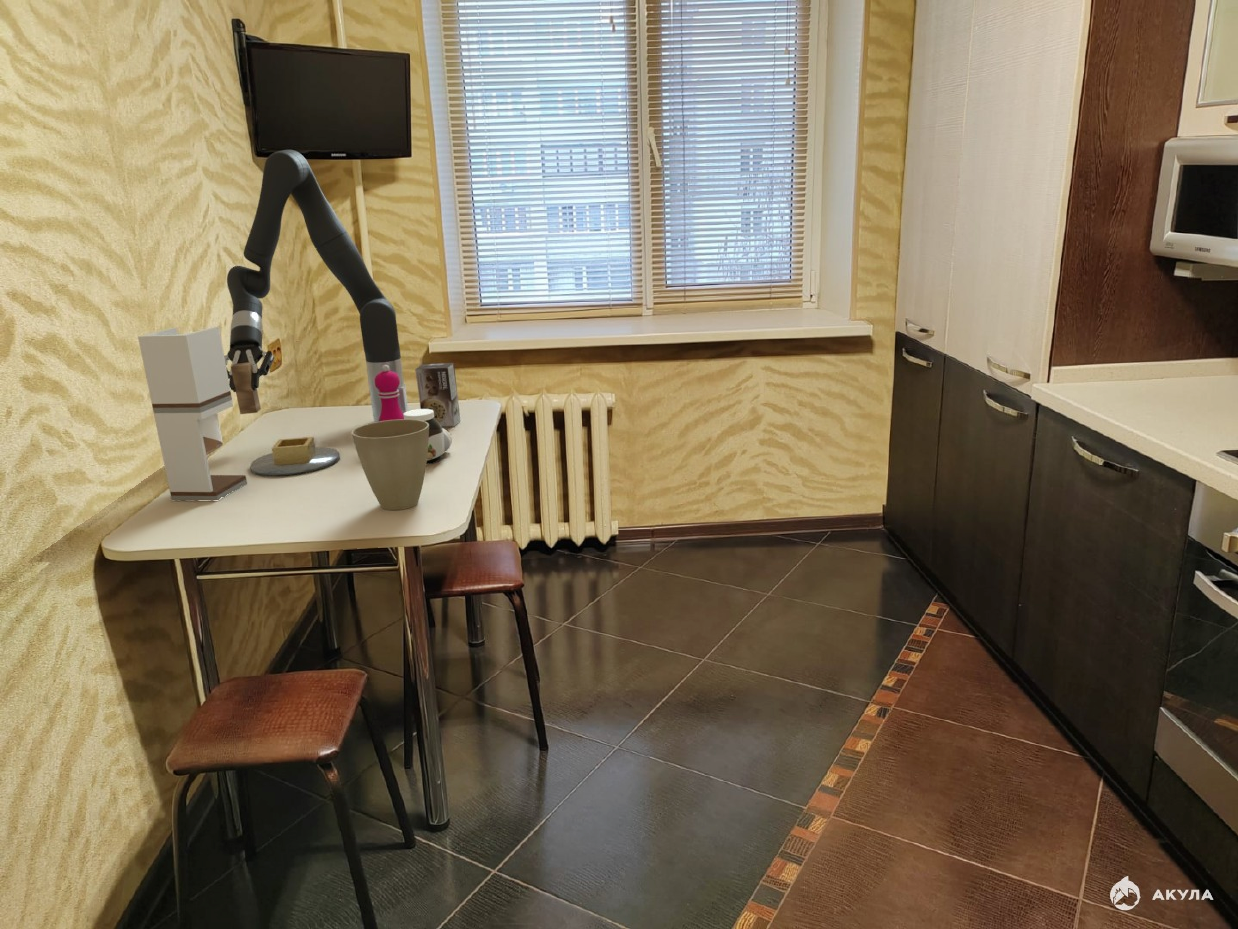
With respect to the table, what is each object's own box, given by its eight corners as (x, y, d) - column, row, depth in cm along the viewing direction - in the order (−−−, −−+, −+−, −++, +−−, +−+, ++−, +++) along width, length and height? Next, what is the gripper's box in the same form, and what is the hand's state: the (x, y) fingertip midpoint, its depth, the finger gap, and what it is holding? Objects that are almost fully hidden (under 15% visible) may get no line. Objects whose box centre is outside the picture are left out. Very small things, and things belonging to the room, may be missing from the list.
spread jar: (402, 467, 207) (396, 418, 204) (402, 454, 218) (396, 407, 215) (455, 461, 210) (450, 413, 206) (452, 449, 220) (447, 402, 217)
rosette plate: (345, 448, 225) (342, 428, 224) (333, 472, 207) (330, 450, 205) (262, 455, 223) (258, 435, 221) (242, 480, 204) (238, 458, 202)
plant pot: (448, 505, 181) (440, 428, 176) (375, 522, 173) (364, 442, 169) (422, 487, 193) (413, 414, 188) (352, 502, 186) (342, 427, 181)
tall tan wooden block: (260, 408, 229) (251, 361, 225) (257, 412, 225) (247, 365, 221) (244, 410, 228) (234, 363, 225) (240, 414, 224) (230, 366, 221)
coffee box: (461, 420, 247) (455, 362, 242) (454, 426, 241) (448, 367, 236) (428, 421, 248) (422, 363, 243) (421, 427, 242) (414, 368, 237)
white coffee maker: (217, 501, 190) (185, 335, 180) (171, 500, 192) (137, 336, 182) (247, 483, 201) (218, 326, 191) (203, 483, 203) (173, 327, 193)
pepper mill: (374, 446, 226) (363, 367, 220) (391, 438, 232) (381, 361, 227) (398, 448, 223) (388, 368, 217) (415, 440, 230) (406, 362, 224)
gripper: (212, 326, 226) (208, 384, 219) (271, 321, 228) (269, 378, 220) (222, 344, 233) (219, 400, 225) (279, 339, 235) (278, 394, 227)
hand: (244, 389), depth 223 cm, fingers closed on tall tan wooden block, 4 cm apart
